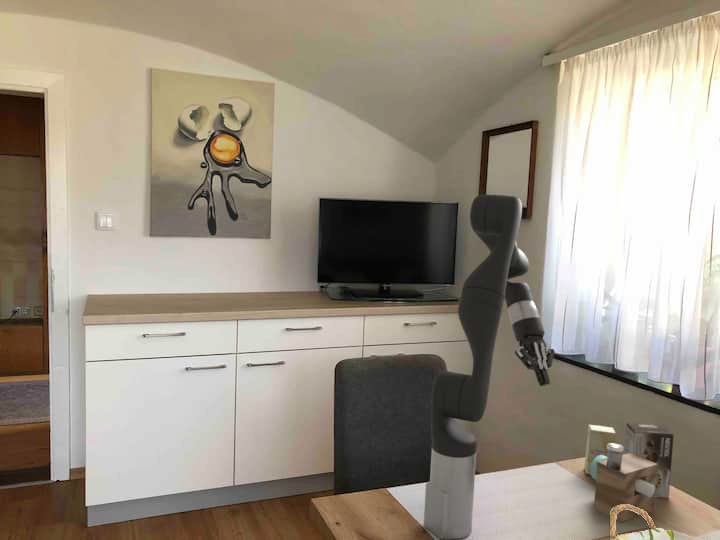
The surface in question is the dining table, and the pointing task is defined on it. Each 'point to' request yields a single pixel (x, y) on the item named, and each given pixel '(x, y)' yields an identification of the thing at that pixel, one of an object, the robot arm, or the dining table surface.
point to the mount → (624, 485)
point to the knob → (640, 485)
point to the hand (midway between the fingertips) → (545, 385)
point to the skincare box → (597, 443)
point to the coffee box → (652, 450)
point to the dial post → (614, 456)
